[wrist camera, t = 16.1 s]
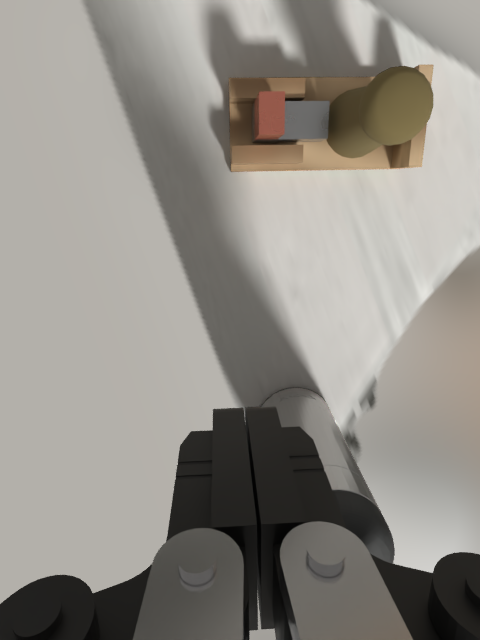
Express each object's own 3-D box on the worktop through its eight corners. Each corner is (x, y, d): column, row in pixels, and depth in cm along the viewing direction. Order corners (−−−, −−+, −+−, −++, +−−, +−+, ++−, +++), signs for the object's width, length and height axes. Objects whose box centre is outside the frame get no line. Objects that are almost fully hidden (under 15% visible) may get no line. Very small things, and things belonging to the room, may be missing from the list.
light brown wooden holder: (397, 168, 42) (421, 166, 37) (230, 171, 41) (232, 170, 36) (406, 79, 39) (433, 64, 34) (228, 80, 38) (230, 65, 33)
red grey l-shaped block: (319, 141, 39) (340, 133, 32) (251, 142, 39) (259, 134, 32) (321, 106, 38) (343, 90, 31) (251, 107, 38) (259, 91, 31)
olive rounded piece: (310, 131, 39) (345, 112, 28) (352, 73, 38) (404, 31, 27) (357, 171, 40) (406, 167, 30) (399, 117, 39) (465, 93, 29)
